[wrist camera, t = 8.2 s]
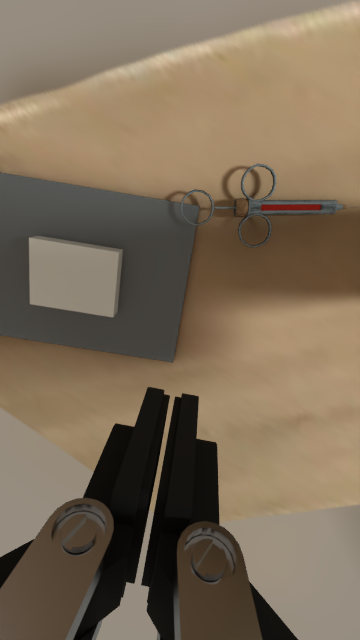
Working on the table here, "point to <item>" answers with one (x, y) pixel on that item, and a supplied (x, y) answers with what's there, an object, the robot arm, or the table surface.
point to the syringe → (270, 206)
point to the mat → (103, 230)
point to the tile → (74, 276)
